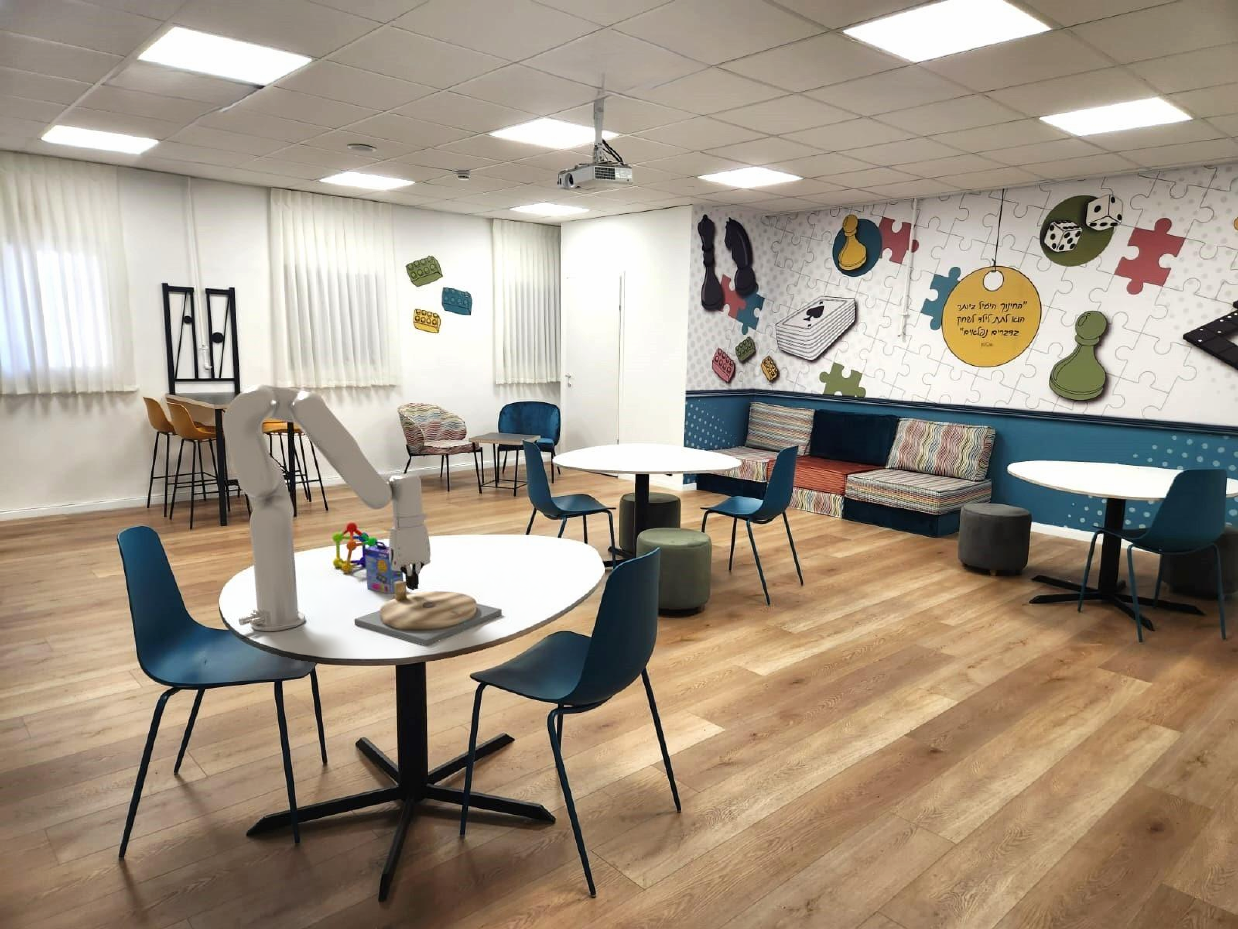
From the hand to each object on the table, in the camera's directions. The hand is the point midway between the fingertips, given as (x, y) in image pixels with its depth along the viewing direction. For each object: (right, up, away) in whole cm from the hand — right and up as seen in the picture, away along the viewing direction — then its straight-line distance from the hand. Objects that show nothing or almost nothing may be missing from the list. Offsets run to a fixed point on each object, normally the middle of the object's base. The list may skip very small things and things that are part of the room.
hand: (412, 588), depth 216 cm
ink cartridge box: (-13, -3, +18) cm, 22 cm away
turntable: (+6, -5, -8) cm, 11 cm away
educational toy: (-29, 0, +41) cm, 50 cm away
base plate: (+6, -7, -7) cm, 12 cm away
